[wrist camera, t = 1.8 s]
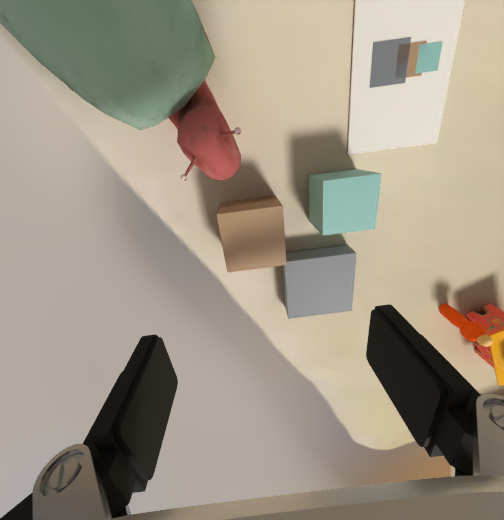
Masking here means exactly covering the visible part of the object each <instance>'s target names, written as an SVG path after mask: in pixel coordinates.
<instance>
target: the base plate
mask: <svg viewBox="0 0 504 520" xmlns="http://www.w3.org/2000/svg"><path fill="white" fill-rule="evenodd" d="M355 263H356V252H355V251H354V250H353V249H351V248H350V247H349V246H348V245H340V246H332V247H324V248H317V249H309V250H301V251H294V252H286V265H282V272H283V285H284V298H285V308H286V311H287V315H288V319H290V318H298V317H306V316H314V315H322V314H330V313H338V312H346V311H352V302H353V289H354V276H355Z"/></svg>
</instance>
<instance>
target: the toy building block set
mask: <svg viewBox="0 0 504 520" xmlns="http://www.w3.org/2000/svg"><path fill="white" fill-rule="evenodd" d="M439 309H440V313H441V314H442V315H443V316H444V317H445V318H447V319H448V320H449V321H450V322H451V323H452V324H454V325H455V326H457V327H458V328H460V332H461V334H462V335H463V336H464V337H465V339H467V340H469V341H473V344H474V345H475V346H476V347H477V348H476V349H475V352H476V353H477V354H478V355H479V356H481V357H482V358H483V359H484V360H485V361H486V362H487V363H489V364H490V365H491V366H492V367H493V368H494V369H495V374H496V379H497V383H498V386H501V385H504V312H503V311H502V310H500V309H498V308H497V307H495V306H494V305H492V304H487V305H485V306H483V309H484V311H485V312H486V314H485V315H481V314H479V313H476V312H474V311H471V312H469V313H466V316H467V317H468V318H469V319H470V320H471V321H469V320H468V319H467V318H466V317H464V316H463V315H462V314H460V313H459V312H458V311H457V310H455V309H454V308H452V307H450V306H449V305H448V304H443V305H441V306H440V308H439Z"/></svg>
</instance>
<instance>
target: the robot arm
mask: <svg viewBox="0 0 504 520" xmlns="http://www.w3.org/2000/svg"><path fill="white" fill-rule="evenodd" d="M366 356H367V360H368V362H369V364H370V366H371V367H372V369H373V371H374V372H375V374H376V376H377V377H378V379H379V381H380V382H381V384H382V386H383V387H384V389H385V391H386V392H387V394H388V396H389V397H390V399H391V401H392V402H393V404H394V406H395V407H396V409H397V411H398V412H399V414H400V416H401V417H402V419H403V421H404V422H405V424H406V426H407V427H408V429H409V431H410V432H411V434H412V436H413V437H414V439H415V440H416V442H417V443H418V444H419V446H421V447H424V448H425V449H426V451H427V453H428V454H429V456H430V457H433V456H443V455H444V457H445V458H446V460H447V461H448V463H449V464H450V465H451V477H442V478H432V479H420V480H410V481H401V482H392V483H383V484H375V485H366V486H357V487H348V488H339V489H331V490H322V491H314V492H305V493H296V494H288V495H280V496H271V497H263V498H254V499H247V500H238V501H230V502H222V503H214V504H206V505H198V506H190V507H183V508H174V509H167V510H160V511H154V512H147V513H140V514H133V515H131V512H130V509H129V506H128V504H129V502H130V499H131V495H132V493H134V492H143V491H145V489H146V485H147V482H148V480H151V478H152V477H153V474H154V471H155V468H156V464H157V460H158V456H159V452H160V449H161V445H162V441H163V438H164V434H165V430H166V426H167V423H168V419H169V415H170V411H171V407H172V404H173V400H174V396H175V393H176V389H177V384H178V380H177V376H176V374H175V371H174V368H173V366H172V364H171V361H170V358H169V355H168V353H167V350H166V348H165V345H164V342H163V340H162V338H161V337H158V336H157V335H148V336H143V337H141V339H140V341H139V343H138V344H137V346H136V348H135V350H134V352H133V354H132V356H131V358H130V360H129V361H128V363H127V365H126V367H125V369H124V371H123V372H122V373H121V374H120V376H119V377H118V379H117V381H116V383H115V385H114V387H113V388H112V390H111V392H110V394H109V396H108V398H107V400H106V401H105V403H104V405H103V407H102V409H101V411H100V413H99V415H98V416H97V418H96V421H95V422H94V424H93V426H92V428H91V430H90V431H89V433H88V435H87V437H86V439H85V441H84V443H83V444H75V445H72V446H70V447H67V448H66V449H64V450H63V451H61V452H60V453H58V454H57V455H56V456H55V457H53V458H52V459H51V460H50V461H49V463H48V464H47V465H46V466H45V467H44V468H43V470H42V471H41V473H40V474H39V476H38V477H37V480H36V482H35V484H34V488H33V493H31V494H30V495H29V496H28V497H26V498H25V499H24V500H23V501H22V502H20V503H19V504H18V505H17V506H15V507H14V508H13V509H12V510H10V511H9V512H8V513H7V514H6V515H4V516H3V517H2V518H0V520H504V396H501V395H498V394H483V395H480V394H479V393H478V392H477V390H476V389H475V388H474V387H473V386H472V385H471V384H470V383H469V382H468V381H467V380H466V379H465V378H464V377H463V376H462V375H461V374H460V373H459V372H458V371H457V370H456V369H455V368H454V367H453V366H452V365H451V364H450V363H449V362H448V361H447V360H446V359H445V358H444V357H443V356H442V355H441V354H440V353H439V352H438V351H437V350H436V349H435V348H434V347H433V346H432V345H431V344H430V343H429V342H428V341H427V340H426V339H425V338H424V337H423V336H422V335H421V334H419V333H418V332H417V331H416V330H415V329H414V328H413V327H412V326H411V324H410V323H409V322H408V321H407V320H406V319H405V318H404V317H403V316H402V315H401V314H400V313H399V312H398V311H397V310H396V309H395V308H394V307H393V306H392V305H382V306H376V307H375V309H374V310H372V311H371V318H370V326H369V335H368V343H367V352H366Z"/></svg>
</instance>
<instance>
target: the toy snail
mask: <svg viewBox="0 0 504 520" xmlns="http://www.w3.org/2000/svg"><path fill="white" fill-rule="evenodd" d="M0 23H1V24H2V25H3V26H4V27H5V28H6V29H7V30H8V31H9V32H10V33H11V34H12V35H13V36H14V37H15V38H16V39H17V40H18V41H19V42H20V43H21V44H22V45H23V46H24V47H25V48H26V49H27V50H28V51H29V52H30V53H31V54H32V55H33V56H34V57H35V58H36V59H37V60H38V61H39V62H40V63H41V64H42V65H44V66H45V67H46V68H47V69H48V70H50V71H51V72H52V73H53V74H54V75H56V76H57V77H58V78H59V79H60V80H61V81H63V82H64V83H65V84H66V85H67V86H68V87H69V88H70V89H71V90H72V91H75V92H76V93H77V94H78V95H79V96H81V97H82V98H83V99H84V100H86V101H87V102H89V103H90V104H91V105H93V106H94V107H96V108H97V109H99V110H100V111H102V112H103V113H105V114H107V115H109V116H111V117H113V118H115V119H117V120H120V121H122V122H124V123H126V124H128V125H130V126H132V127H135V128H137V129H139V130H143V129H146V128H149V127H152V126H155V125H158V124H160V123H161V122H163V121H164V120H165V119H167V118H169V119H170V120H171V121H172V123H173V124H174V125H175V126H176V127H177V129H178V138H177V142H178V144H179V146H180V148H181V149H182V151H183V153H184V154H185V155H186V156H187V157H188V158H189V160H190V161H191V164H190V165H189V167H188V169H187V171H186V173H185V175H184V174H183V175H181V177H180V178H181V180H183V181H185V180H186V178H187V177H186V176H187V174H188V173H189V171H190V170H191V168H192V167H193V165H194V164H195V165H196V166H197V167H198V168H199V169H200V170H201V171H203V172H204V173H205V174H206V175H207V176H208V177H210V178H212V179H217V180H222V181H224V180H226V179H228V178H229V177H231V176H233V175H234V174H235V173H236V171H237V170H238V169H239V168H240V160H241V154H240V152H239V149H238V146H237V144H236V141H235V139H234V137H233V135H232V134H234V133H236V134H237V135H238V134H240V133H241V129H240V128H238V127H237V128H235V130H234V131H231V130H230V128H229V126H228V124H227V122H226V120H225V118H224V116H223V115H222V113H221V111H220V109H219V107H218V105H217V103H216V101H215V99H214V97H213V95H212V93H211V91H210V89H209V87H208V85H207V84H206V82H205V79H206V77H207V74H208V72H209V70H210V68H211V66H212V63H213V61H214V59H215V55H214V52H213V50H212V48H211V45H210V43H209V40H208V38H207V35H206V33H205V31H204V28H203V26H202V23H201V21H200V18H199V16H198V14H197V12H196V10H195V8H194V6H193V4H192V2H191V0H0Z"/></svg>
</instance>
